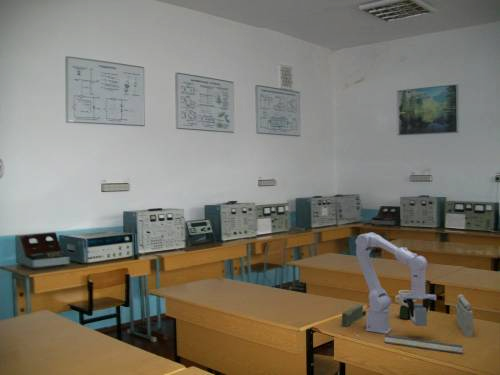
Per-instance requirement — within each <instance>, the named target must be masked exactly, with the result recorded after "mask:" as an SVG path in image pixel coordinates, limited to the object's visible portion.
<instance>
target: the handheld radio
mask: <svg viewBox="0 0 500 375" xmlns="http://www.w3.org/2000/svg"><path fill="white" fill-rule="evenodd" d="M363 310H364V304H363V303H358V304H357V305H355V306H353V307H351V308H349V309H348V310H347V309H346V311H344V312H342V314H341V315H342V317H341V327H343V328H347V327H349V326H350V324H351V325H352V324H354V323H356V322H358V321H359V320H361V319H362V318H363V316H364V315H366V314H367V311H365V310H364V311H363Z"/></svg>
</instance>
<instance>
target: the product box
mask: <svg viewBox="0 0 500 375" xmlns="http://www.w3.org/2000/svg"><path fill="white" fill-rule="evenodd" d="M413 310H414V317H411V313H410V317H409V320H410V321H411V322H412V323H413V324H414V326H416V327H427V325H428V322H427V320H428V319H427V317H428V311H427V309H426V308H425V307H424V306H423V303H422V304H421V303H414V309H413Z"/></svg>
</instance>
